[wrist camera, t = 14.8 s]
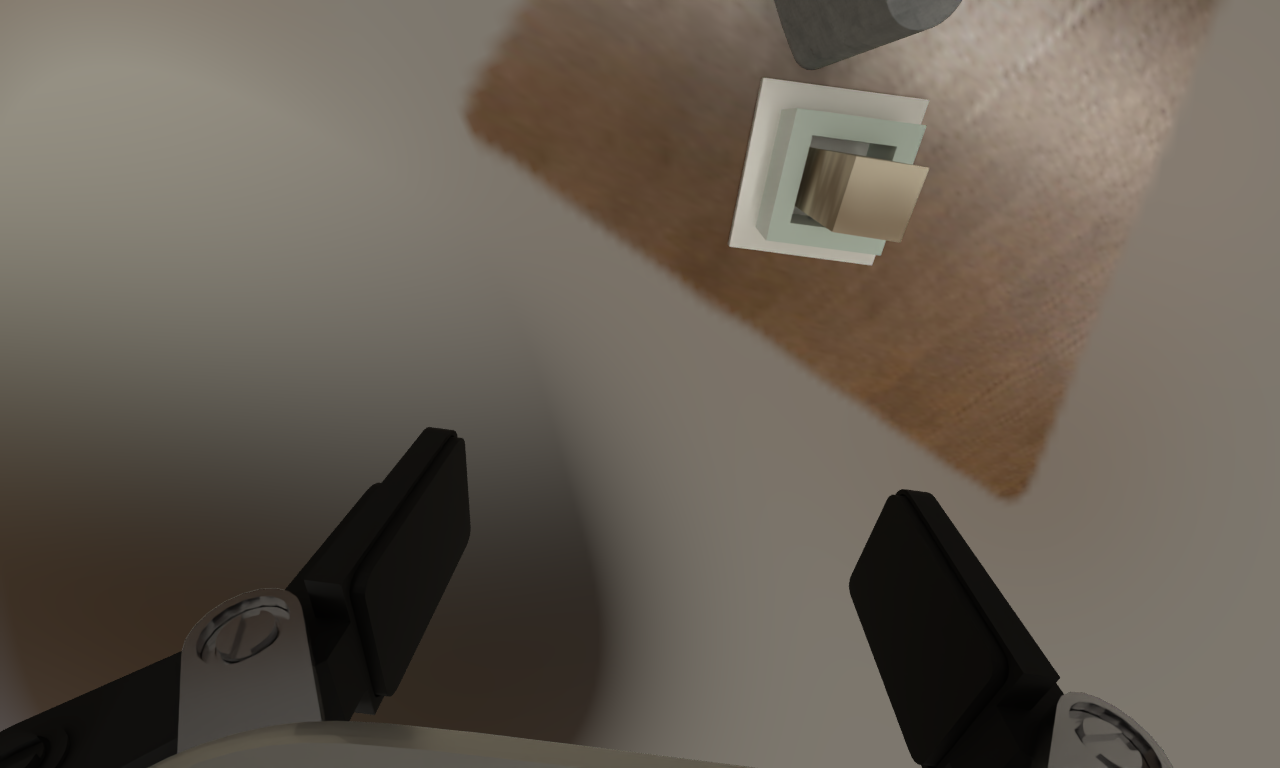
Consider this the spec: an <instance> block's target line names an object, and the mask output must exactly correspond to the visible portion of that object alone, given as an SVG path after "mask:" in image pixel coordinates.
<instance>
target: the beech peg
mask: <svg viewBox="0 0 1280 768" xmlns="http://www.w3.org/2000/svg"><path fill="white" fill-rule="evenodd" d="M928 170H929V168H927V167H922V166H916V165H911V164H905V163H900V162H894V161H889V160H883V159H878V158H872V157H867V156H862V155H856V154H850V153H844V152H837V151H831V150H825V149H818V148H812V147H809V151H808V155H807V159H806V163H805V167H804V171H803V175H802V179H801V183H800V186H799V190H798V194H797V198H796V202H795V206H796V207H797V208H798V209H800V210H801V211H803V212H804V213H806V214H807V215H809V216H810V217H811V218H813V219H814V220H816V221H817V222H819V223H820V224H821V225H823V226H824V227H826V228H827V229H829V230H830V231H832V232H835V233H842V234H848V235H854V236H861V237H867V238H874V239H880V240H887V241H893V242H899V243H900V242H901V240H902V237H903V235H904V232H905V229H906V227H907V224H908V222H909V219H910V217H911V214H912V211H913V209H914V206H915V204H916V201H917V199H918V196H919V193H920V191H921V188H922V186H923V183H924V181H925V178H926V175H927V173H928Z"/></svg>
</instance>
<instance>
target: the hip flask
mask: <svg viewBox="0 0 1280 768" xmlns="http://www.w3.org/2000/svg"><path fill="white" fill-rule="evenodd" d="M774 1H775V4H776V8H777V11H778V14H779V18H780V21H781V24H782V27H783V30H784V33H785V35H786V38H787V41H788V44H789V46H790V48H791V51H792V53H793V56H794V58H795V60H796V62H797V63H798V64H799V65H800V66H801V67H803V68H805V69H808V70H815V69H819V68H821V67H824V66H827V65H830V64H833V63H835V62H838V61H841V60H844V59H846V58H849V57H852V56H855V55H858V54H860V53H863V52H866V51H869V50H871V49H874V48H877V47H880V46H882V45H885V44H888V43H891V42H894V41H896V40H899V39H902V38H905V37H907V36H910V35H913V34H916V33H919V32H921V31H924V30H927V29H930V28H932V27H935V26H936V25H938V24H940V23H942V22H943V21H944V20H945V19H947V18H948V17H949V16H950V15H951V14H952V13H953V12H954V11H955V10H956V8H957V7H958V6H959V4H960V3H961V1H962V0H774Z"/></svg>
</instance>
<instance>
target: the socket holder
mask: <svg viewBox="0 0 1280 768" xmlns="http://www.w3.org/2000/svg"><path fill="white" fill-rule="evenodd" d="M928 103H929V100H926V99H919V98H911V97H904V96H896V95H889V94H882V93H874V92H867V91H859V90H852V89H844V88H837V87H830V86H822V85H815V84H807V83H800V82H792V81H785V80H778V79H770V78H762V79H761V82H760V87H759V92H758V97H757V102H756V107H755V112H754V117H753V122H752V127H751V132H750V137H749V142H748V147H747V152H746V157H745V162H744V167H743V172H742V177H741V182H740V186H739V191H738V196H737V201H736V206H735V211H734V216H733V221H732V226H731V231H730V236H729V241H728V245H729V246H730V247H737V248H745V249H752V250H760V251H767V252H775V253H782V254H790V255H797V256H805V257H812V258H820V259H827V260H835V261H842V262H850V263H857V264H865V265H872V264H873V261H874V258H875V255H880V256H881V253H882V250H883V247H884V245H885V242H886V240H880V239H874V238H867V237H861V236H854V235H848V234H842V233H835V232H832V231H830V230H829V229H827V228H826V227H824V226H823V225H821V224H820V223H819V222H817V221H816V220H814V219H813V218H811V217H810V216H809V215H807V214H806V213H804V212H803V211H801V210H800V209H798V208H797V207H796V206H795V202H796V198H797V194H798V190H799V186H800V183H801V179H802V175H803V171H804V167H805V163H806V159H807V155H808V151H809V147H812V148H818V149H825V150H831V151H837V152H844V153H850V154H856V155H862V156H867V157H872V158H878V159H883V160H889V161H894V162H900V163H905V164H911V165H913V163H914V160H915V157H916V154H917V151H918V148H919V146H920V143H921V140H922V137H923V134H924V131H925V129H926V126H927V125H921V123H922V120H923V117H924V114H925V111H926V109H927V106H928Z"/></svg>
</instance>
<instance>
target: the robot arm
mask: <svg viewBox="0 0 1280 768" xmlns="http://www.w3.org/2000/svg"><path fill="white" fill-rule="evenodd" d="M469 536H470V513H469V498H468V483H467V467H466V453H465V441H464V439H462V438H457V433H456V431H454V430H447V429H440V428H432V427H428V428H426V429H425V430H424V431H423V432H422V433H421V435H420V436H419V437H418V438H417V440H416V441H415V442H414V443H413V444H412V446H411V447H410V448H409V449H408V451H407V452H406V453H405V455H404V456H403V457H402V458H401V460H400V461H399V462H398V463H397V465H396V466H395V467H394V468H393V469H392V471H391V472H390V473H389V474H388V476H387V477H386V478H385V480H384V481H383V482H382V483H376V484H374V485H372V486H371V487H370V488H369V489H368V490H367V491H366V492H365V493H364V495H363V496H362V497H361V498H360V499H359V501H358V502H357V503H356V504H355V506H354V507H353V508H352V509H351V510H350V512H349V513H348V514H347V515H346V516H345V518H344V519H343V520H342V521H341V522H340V524H339V525H338V526H337V527H336V529H335V530H334V531H333V532H332V533H331V535H330V536H329V537H328V538H327V539H326V541H325V542H324V543H323V544H322V546H321V547H320V548H319V549H318V550H317V552H316V553H315V554H314V555H313V556H312V558H311V559H310V560H309V561H308V563H307V564H306V565H305V566H304V567H303V568H302V570H301V571H300V572H299V573H298V575H297V576H296V577H295V578H294V580H293V581H292V582H291V583H290V584H289V585H288V587H287V588H286V589H285V590H282V589H277V588H269V589H258V590H255V591H251V592H247V593H243V594H240V595H238V596H236V597H234V598H232V599H229V600H227V601H225V602H223V603H222V604H220V605H219V606H217V607H216V608H214V609H213V610H211V611H210V612H208V613H207V614H206V615H205V616H204V617H203V618H202V619H201V620H200V621H199V622H198V623H197V624H196V625H195V626H194V627H193V629H192V630H191V632H190V633H189V635H188V636H187V638H186V639H185V642H184V646H183V650H182V651H181V652H179V653H176V654H174V655H172V656H170V657H167V658H165V659H163V660H160V661H158V662H156V663H154V664H152V665H149V666H147V667H145V668H142V669H140V670H138V671H135V672H133V673H131V674H129V675H126V676H124V677H122V678H120V679H117V680H115V681H113V682H110V683H108V684H106V685H104V686H101V687H99V688H97V689H95V690H92V691H90V692H88V693H85V694H83V695H81V696H79V697H76V698H74V699H72V700H69V701H67V702H65V703H63V704H61V705H58V706H56V707H54V708H51V709H49V710H47V711H45V712H42V713H40V714H38V715H35V716H33V717H31V718H29V719H26V720H24V721H22V722H20V723H17V724H15V725H13V726H11V727H9V728H7V729H5V730H3V731H1V732H0V768H753V767H745V766H738V765H730V764H723V763H714V762H707V761H699V760H691V759H684V758H676V757H668V756H660V755H652V754H644V753H636V752H629V751H621V750H613V749H605V748H596V747H588V746H580V745H572V744H564V743H556V742H548V741H538V740H531V739H522V738H515V737H506V736H499V735H491V734H482V733H474V732H463V731H455V730H444V729H435V728H426V727H416V726H406V725H397V724H387V723H370V722H350V719H351V717H352V715H353V713H354V712H356V713H364V714H372V715H375V713H376V711H377V709H378V707H379V705H380V703H381V701H382V699H383V697H384V696H392V695H393V694H394V693H395V691H396V690H397V688H398V686H399V684H400V682H401V679H402V678H403V676H404V674H405V672H406V669H407V667H408V665H409V663H410V661H411V659H412V657H413V655H414V653H415V651H416V648H417V646H418V645H419V643H420V641H421V639H422V636H423V634H424V632H425V630H426V628H427V626H428V624H429V622H430V620H431V618H432V616H433V614H434V612H435V609H436V607H437V605H438V603H439V601H440V599H441V597H442V595H443V593H444V591H445V589H446V587H447V585H448V583H449V581H450V579H451V576H452V574H453V572H454V570H455V568H456V566H457V564H458V562H459V560H460V558H461V556H462V554H463V552H464V550H465V548H466V546H467V543H468V540H469ZM849 590H850V595H851V597H852V600H853V603H854V605H855V608H856V611H857V614H858V616H859V619H860V622H861V624H862V626H863V630H864V632H865V635H866V638H867V640H868V643H869V646H870V648H871V651H872V654H873V656H874V659H875V662H876V664H877V667H878V669H879V672H880V675H881V678H882V680H883V682H884V685H885V688H886V691H887V694H888V696H889V699H890V702H891V704H892V707H893V709H894V712H895V715H896V717H897V720H898V723H899V725H900V728H901V731H902V734H903V736H904V739H905V742H906V744H907V747H908V750H909V752H910V754H911V756H912V758H913V760H914V761H915V762H916V763H917V764H919V765H921V766H922V768H1173V766H1172V764H1171V762H1170V761H1169V759H1168V757H1167V756H1166V754H1165V753H1164V750H1163V749H1162V748H1161V747H1160V746H1159V745H1158V744H1157V742H1156V741H1155V740H1154V739H1153V737H1152V736H1151V735H1150V734H1149V733H1148V732H1147V731H1146V730H1145V729H1144V728H1142V727H1141V726H1140V725H1139V724H1138V723H1137V722H1136V721H1135V720H1134V719H1132V718H1131V717H1130V716H1128V715H1127V714H1125V713H1124V712H1122V711H1121V710H1120V709H1118V708H1117V707H1115V706H1113V705H1112V704H1110V703H1108V702H1106V701H1104V700H1102V699H1100V698H1098V697H1095V696H1092V695H1088V694H1085V693H1079V692H1069V693H1067V694H1063V692H1062V691H1061V690H1060V688H1059V686H1058V685H1057V684H1056V682H1057V681H1058V680H1059V679H1060V677H1059V675H1058V674H1057V672H1056V671H1055V670H1054V668H1053V667H1052V665H1051V664H1050V662H1049V661H1048V659H1047V658H1046V657H1045V655H1044V654H1043V652H1042V651H1041V649H1040V648H1039V646H1038V645H1037V644H1036V642H1035V641H1034V639H1033V638H1032V636H1031V635H1030V634H1029V632H1028V631H1027V629H1026V628H1025V626H1024V625H1023V623H1022V622H1021V621H1020V619H1019V618H1018V616H1017V615H1016V613H1015V612H1014V611H1013V609H1012V608H1011V606H1010V605H1009V603H1008V602H1007V601H1006V599H1005V598H1004V596H1003V595H1002V593H1001V592H1000V591H999V589H998V588H997V586H996V585H995V583H994V582H993V580H992V579H991V578H990V576H989V575H988V573H987V572H986V570H985V569H984V567H983V566H982V565H981V563H980V562H979V560H978V559H977V557H976V556H975V555H974V553H973V552H972V550H971V549H970V547H969V546H968V545H967V543H966V542H965V540H964V539H963V537H962V536H961V535H960V533H959V532H958V530H957V529H956V527H955V526H954V524H953V523H952V522H951V520H950V519H949V517H948V516H947V514H946V513H945V512H944V510H943V509H942V507H941V506H940V504H939V503H938V501H937V500H936V499H935V497H934V496H933V495H932V494H930V493H927V492H920V491H913V490H904V489H902V490H899V491H898V492H897V493H896V495H891V496H889V498H888V499H887V501H886V503H885V505H884V508H883V509H882V512H881V514H880V516H879V518H878V520H877V522H876V524H875V526H874V528H873V531H872V533H871V535H870V537H869V539H868V541H867V543H866V545H865V548H864V550H863V552H862V554H861V556H860V558H859V560H858V562H857V564H856V567H855V569H854V571H853V573H852V575H851V577H850V582H849Z"/></svg>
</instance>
